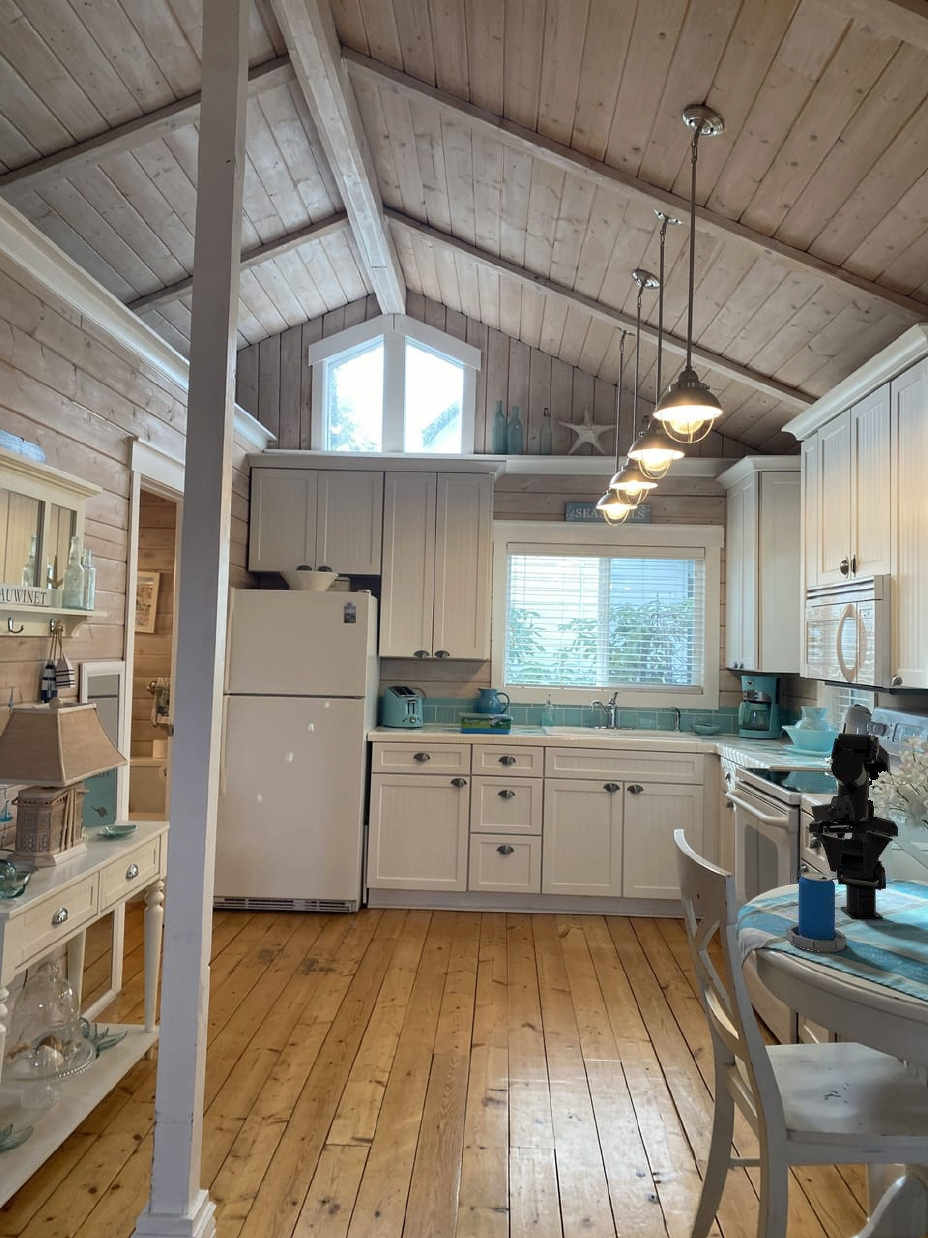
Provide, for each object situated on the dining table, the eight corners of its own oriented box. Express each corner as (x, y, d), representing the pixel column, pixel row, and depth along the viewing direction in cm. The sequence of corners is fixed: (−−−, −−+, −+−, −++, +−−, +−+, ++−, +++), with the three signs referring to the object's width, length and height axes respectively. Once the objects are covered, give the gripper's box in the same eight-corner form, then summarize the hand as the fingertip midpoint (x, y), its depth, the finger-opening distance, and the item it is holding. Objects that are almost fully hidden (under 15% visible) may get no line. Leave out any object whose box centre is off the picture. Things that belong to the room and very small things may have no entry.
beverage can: (835, 946, 157) (835, 882, 157) (798, 941, 159) (798, 878, 160) (834, 935, 163) (834, 873, 163) (798, 931, 165) (798, 869, 166)
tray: (781, 933, 166) (781, 923, 166) (832, 935, 166) (832, 925, 166) (797, 952, 156) (797, 941, 156) (852, 953, 156) (852, 942, 156)
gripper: (789, 788, 177) (784, 863, 172) (853, 780, 160) (850, 863, 155) (833, 800, 180) (829, 874, 175) (901, 794, 163) (899, 876, 158)
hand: (849, 872), depth 166 cm, fingers open, 9 cm apart
